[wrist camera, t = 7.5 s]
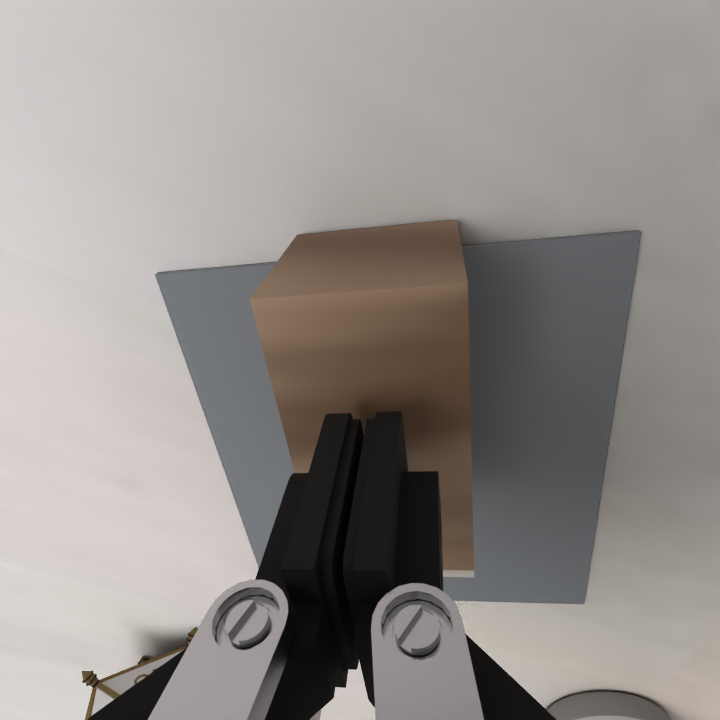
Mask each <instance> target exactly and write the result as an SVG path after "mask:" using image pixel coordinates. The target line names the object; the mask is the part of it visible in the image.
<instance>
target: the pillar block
mask: <svg viewBox="0 0 720 720" xmlns="http://www.w3.org/2000/svg"><path fill="white" fill-rule="evenodd" d="M250 302H251V306H252V310H253V314H254V318H255V322H256V326H257V329H258V333H259V337H260V341H261V345H262V349H263V353H264V356H265V360H266V364H267V368H268V372H269V376H270V380H271V383H272V387H273V391H274V395H275V399H276V403H277V407H278V410H279V414H280V418H281V422H282V426H283V430H284V434H285V437H286V441H287V445H288V449H289V453H290V457H291V461H292V464H293V468H294V472H295V473H308V472H309V469H310V466H311V462H312V459H313V455H314V452H315V448H316V445H317V441H318V438H319V435H320V431H321V428H322V424H323V421H324V417H325V415H326V414H333V413H351V414H352V417H353V419H360V420H361V422H362V428H363V434H364V433H365V427H366V421H367V419H375V416H376V412H391V411H401V412H402V418H403V427H404V436H405V445H406V454H407V464H408V472H410V471H438V474H439V487H440V503H441V523H442V557H443V577H474V541H473V496H472V450H471V405H470V359H469V314H468V281H467V275H466V269H465V264H464V258H463V252H462V246H461V240H460V234H459V228H458V223H457V220H447V221H436V222H426V223H415V224H405V225H394V226H384V227H373V228H363V229H352V230H342V231H331V232H321V233H310V234H300V235H297V236H296V237H295V239H294V240H293V241H292V243H291V244H290V245H289V247H288V248H287V249H286V251H285V252H284V253H283V255H282V256H281V257H280V259H279V260H278V262H277V263H276V264H275V266H274V267H273V268H272V270H271V271H270V272H269V274H268V275H267V276H266V278H265V279H264V280H263V282H262V283H261V284H260V286H259V287H258V289H257V290H256V291H255V293H254V294H253V295H252V297H251V298H250Z"/></svg>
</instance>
